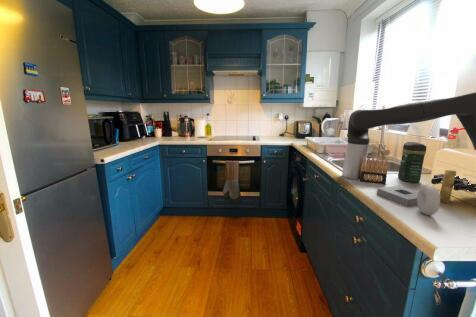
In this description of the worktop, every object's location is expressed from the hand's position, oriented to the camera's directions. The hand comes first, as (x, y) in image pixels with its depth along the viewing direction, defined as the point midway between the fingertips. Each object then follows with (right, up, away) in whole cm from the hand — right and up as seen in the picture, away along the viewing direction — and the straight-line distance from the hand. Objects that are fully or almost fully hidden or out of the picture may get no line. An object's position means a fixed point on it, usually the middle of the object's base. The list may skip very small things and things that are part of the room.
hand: (443, 184), depth 82 cm
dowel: (+2, -7, +2) cm, 7 cm away
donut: (-13, -9, -8) cm, 18 cm away
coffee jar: (+8, -1, +28) cm, 29 cm away
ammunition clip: (-12, -2, +23) cm, 26 cm away
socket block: (-11, -6, +5) cm, 14 cm away
